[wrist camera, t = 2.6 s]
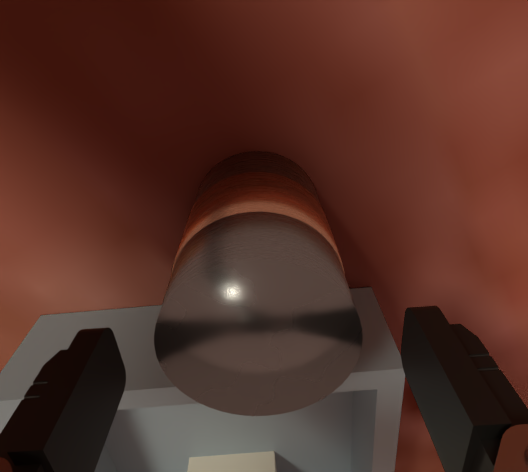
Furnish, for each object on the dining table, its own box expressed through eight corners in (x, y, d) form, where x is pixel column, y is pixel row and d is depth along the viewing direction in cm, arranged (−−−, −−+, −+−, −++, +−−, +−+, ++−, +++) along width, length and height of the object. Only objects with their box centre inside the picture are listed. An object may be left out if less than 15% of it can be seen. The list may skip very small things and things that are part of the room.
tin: (183, 156, 16) (127, 269, 9) (317, 143, 16) (368, 247, 9) (205, 268, 18) (175, 424, 11) (320, 258, 18) (361, 409, 11)
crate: (40, 315, 20) (-21, 402, 15) (371, 286, 19) (405, 368, 15) (129, 506, 28) (106, 598, 23) (361, 489, 27) (382, 579, 23)
